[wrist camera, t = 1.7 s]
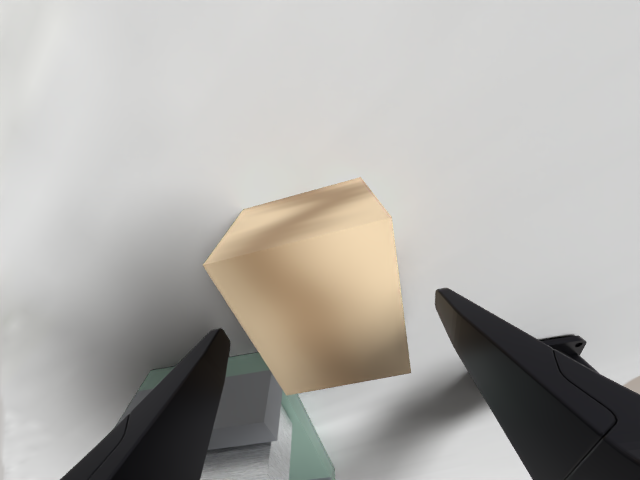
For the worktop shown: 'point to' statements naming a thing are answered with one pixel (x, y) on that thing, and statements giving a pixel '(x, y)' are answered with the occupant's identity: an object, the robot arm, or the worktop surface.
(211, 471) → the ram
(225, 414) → the press frame
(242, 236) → the block
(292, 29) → the worktop surface
